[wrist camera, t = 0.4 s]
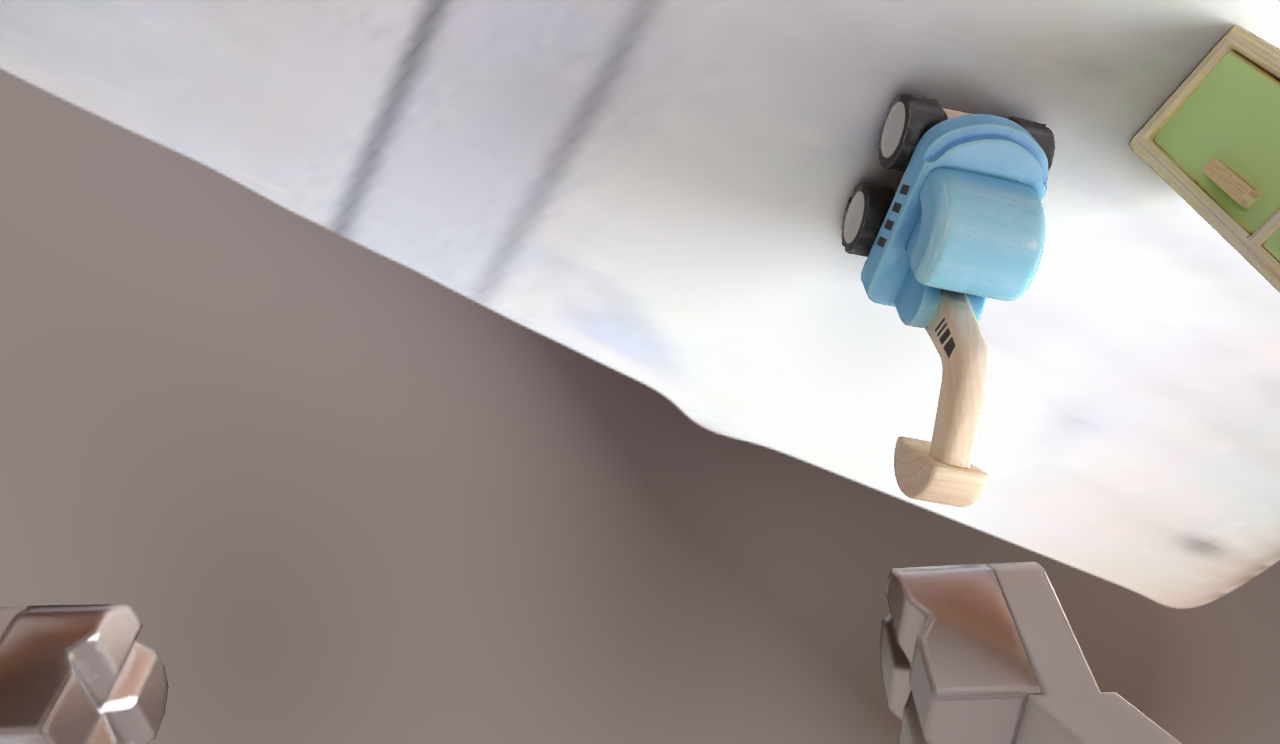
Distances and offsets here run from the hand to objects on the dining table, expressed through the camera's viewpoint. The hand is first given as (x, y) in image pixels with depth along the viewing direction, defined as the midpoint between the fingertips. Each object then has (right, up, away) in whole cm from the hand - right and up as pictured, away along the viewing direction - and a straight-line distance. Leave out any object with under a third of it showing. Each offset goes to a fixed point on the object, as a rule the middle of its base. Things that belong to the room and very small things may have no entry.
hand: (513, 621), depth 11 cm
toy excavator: (+18, +12, +48) cm, 53 cm away
